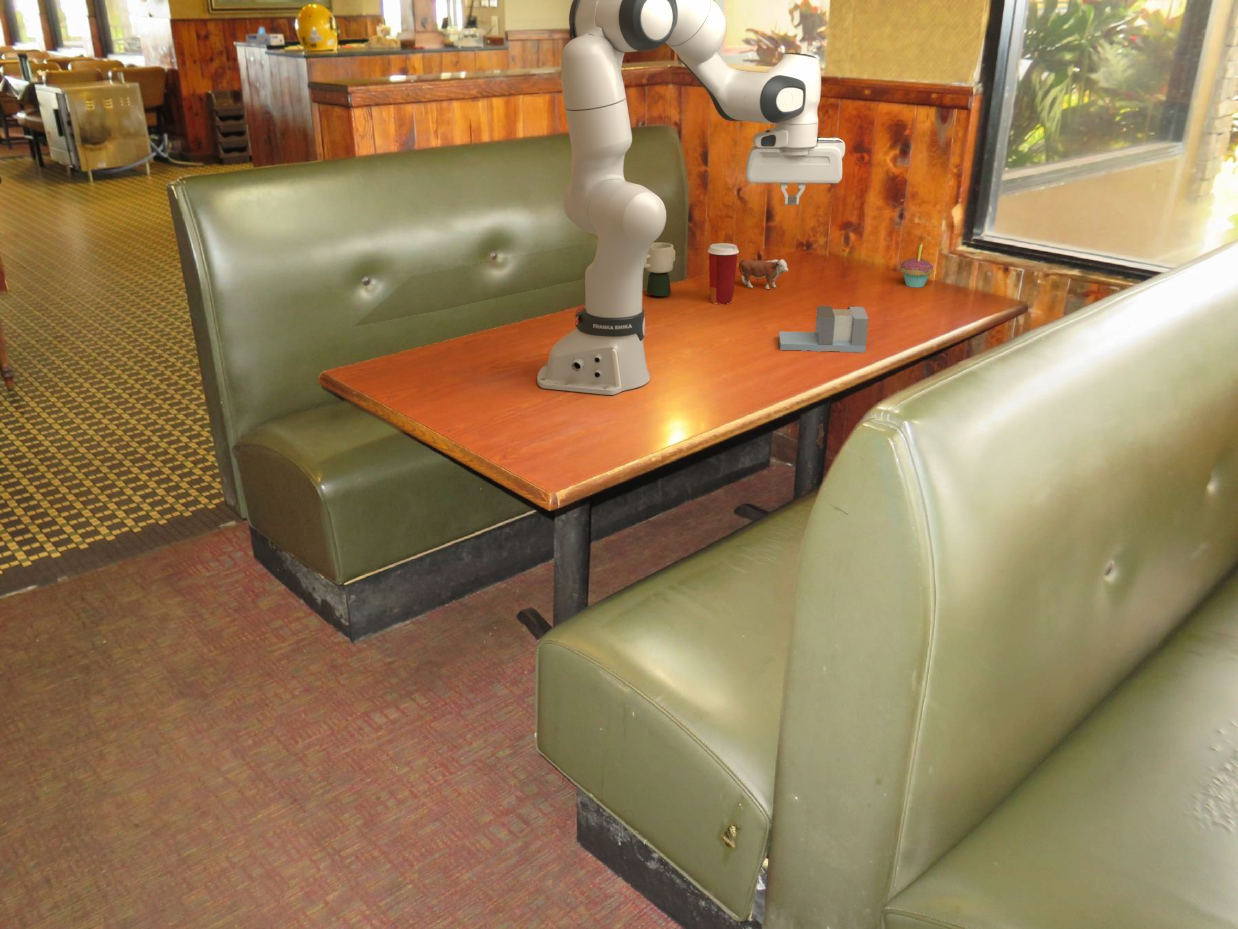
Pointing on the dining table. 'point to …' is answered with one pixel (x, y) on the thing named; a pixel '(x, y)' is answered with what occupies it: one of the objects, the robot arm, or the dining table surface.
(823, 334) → the jaw
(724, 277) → the paper cup
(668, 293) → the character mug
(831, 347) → the vise base
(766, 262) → the bull figurine
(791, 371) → the dining table surface
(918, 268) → the cupcake
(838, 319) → the block
